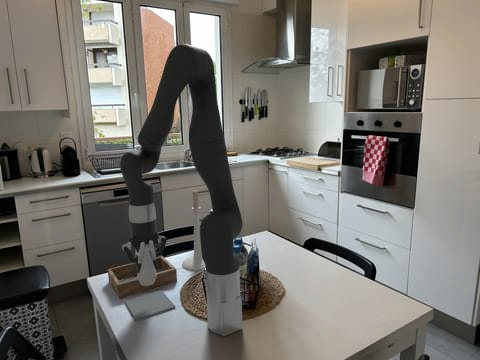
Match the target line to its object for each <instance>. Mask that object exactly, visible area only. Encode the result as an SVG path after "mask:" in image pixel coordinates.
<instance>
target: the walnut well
mask: <svg viewBox="0 0 480 360" xmlns="http://www.w3.org/2000/svg"><path fill="white" fill-rule="evenodd" d="M159 270H160V271H159ZM157 271H159V272H157ZM177 272H178V271H177V268H176V267H175V266H174V265H173V264H172V263H171V262H170V261H169V260H167V258H165V257H164V256H163V255H162V256H161V257H157V258H156V273H157V276H156V279H155V282H154V283H153V284H152V285H149V286H143V285H141V284H140V282H139V281H138V278H137V273H138V272H137V269H136V263H132V262H131V263H127V264H124V265H123V264H122V265H119V266H115V267H111V268H108V269H107V275H108V277H107V278H108V284H109V285H110V286H111V289H112V290H113V291H114V293H115V295H116V297H117V298H118V300H123V299H126V298H130V297H132V296H133V297H134V296H136V295H139V294H142V293H145V292H149V291H151V290H155V289H159V288H161V287H165V286H169V285H173V284H175V283H178V273H177ZM135 277H136V278H135ZM130 278H131V279H130ZM132 278H133V279H132ZM127 279H130V280H127ZM124 280H127V281H124ZM120 281H123V282H120Z"/></svg>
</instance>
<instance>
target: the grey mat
mask: <svg viewBox="0 0 480 360" xmlns="http://www.w3.org/2000/svg"><path fill="white" fill-rule="evenodd" d="M124 304H125V305H126V307H127V309H128V310H129V312H130V313H131V315H132V317H133V318H134V320H135V322H139V321H141V320H143V319H148V318H149V317H153V316H156V315H159V314H161V313H164V312H167V311H170V310H174V309H176V305H175V304H174V303H173V302H172V301H171V300H170V298H169V297H168V296H167V294H165V292H164V291H163V290H162V289H160V290H156V291H153V292H150V293H146V294H144V295H139V296H137V297H133V298H130V299H127V300H124Z"/></svg>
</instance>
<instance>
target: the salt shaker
mask: <svg viewBox="0 0 480 360" xmlns="http://www.w3.org/2000/svg"><path fill="white" fill-rule="evenodd" d="M141 250H142V249H141ZM150 251H151V246H150V245H149V244H145V245H144V247H143V256H142V262H141V263H142V265H141V270H140V272H139V273H137V276H136V279H137V278H138V281H139V282H140V284H141V285H143V286H149V285H152V284H153V283H154V282H155V279H156V276H157V273H158V272H157V271H156V269H155V268H154V266H155V265H154V264H153V259H152V256H151V252H150Z"/></svg>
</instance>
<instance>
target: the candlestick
mask: <svg viewBox="0 0 480 360" xmlns="http://www.w3.org/2000/svg"><path fill="white" fill-rule="evenodd" d="M192 201H193V203H192V207H191V209H192V213H193V214H194V216H193V255H190V256H189V257H187V258H185V259H184V260H183V261H182V268H183V269H185V270H186V271H190V272H202V271H204V270H203V269H204V266H205V263H204V261H203V258H202V252H201V242H200V225H201V222H200V215H199V214H200V212H201V208H202V207H201V206H199V205H200V204H199V202H200V201H199V190H197V189H194V190H192Z"/></svg>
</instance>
